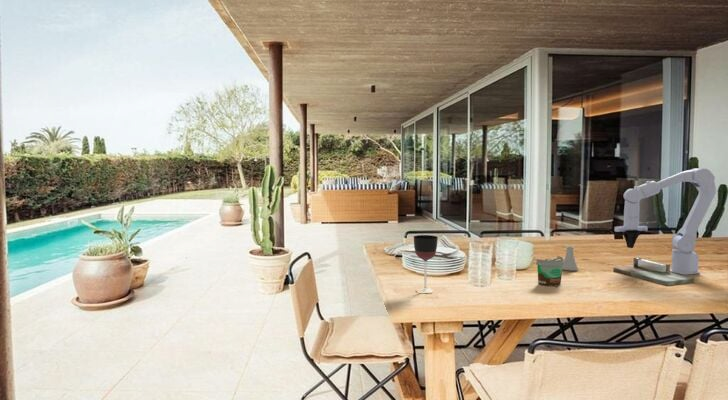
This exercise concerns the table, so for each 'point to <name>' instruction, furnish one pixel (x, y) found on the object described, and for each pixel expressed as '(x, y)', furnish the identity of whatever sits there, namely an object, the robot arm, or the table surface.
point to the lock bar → (649, 265)
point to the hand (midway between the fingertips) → (630, 247)
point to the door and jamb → (655, 275)
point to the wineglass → (425, 251)
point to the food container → (550, 271)
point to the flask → (570, 260)
